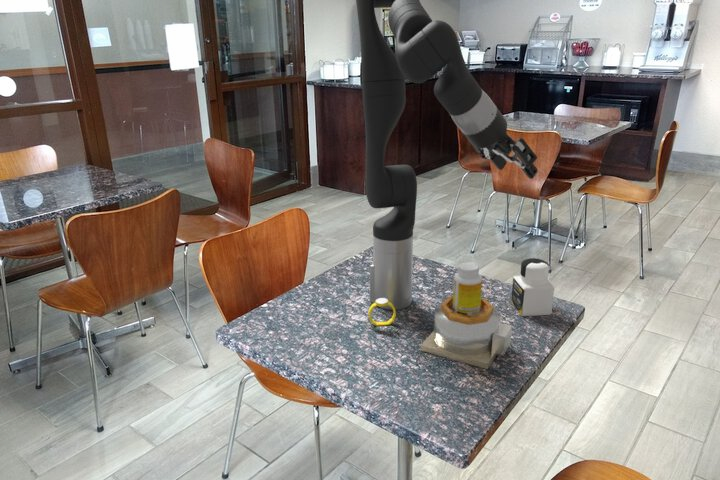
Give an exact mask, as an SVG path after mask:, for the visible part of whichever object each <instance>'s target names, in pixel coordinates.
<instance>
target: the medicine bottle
mask: <svg viewBox="0 0 720 480" xmlns="http://www.w3.org/2000/svg"><path fill="white" fill-rule="evenodd" d="M549 269H550V264H549V263H548V262H547V261H545V260H543V259H540V258H534V257H532V258H526V259H523V260H522V261H521V263H520V274H519V275H514V276H513V277H512V288H511V299H510V300H511V301H510V303H511V304H512V306H513V308H514V309H516V311H517V312H518V314H519V315H520V316H521V317H534V316H537V317H538V316H551V315H552V311H553V302H554V301H553V300H554V294H555V286H554V285H553V284H552V283H551V282H550V281H549V279H548V278H549Z"/></svg>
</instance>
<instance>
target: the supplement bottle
mask: <svg viewBox="0 0 720 480" xmlns="http://www.w3.org/2000/svg"><path fill="white" fill-rule="evenodd" d="M479 270H480V267H479V265H478V264H477V263H474V262H462V263H460V264H459V265H458V267H457V272H456V273H455V274H454V275H453V283H452V284H453V286H452V287H453V288H452V289H453V290H452V297H453V312H454V313H458V314H462V315H467V316H472V315H478V314H479V313H480V306H481V298H482V287H483V276H482V275H481V274H480V273H479V272H480V271H479Z"/></svg>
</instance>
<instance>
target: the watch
mask: <svg viewBox="0 0 720 480" xmlns="http://www.w3.org/2000/svg"><path fill="white" fill-rule="evenodd" d="M386 305H389V306H391V307H392V309H393V310H392V311H393V314H392V316H391V318H390V319H388V320H387V321H375V320H374V319H373V318H372V312H373V310H374V309H375V308H376V307H378V306H386ZM396 310H397V309H396ZM396 310H395V307H394V306H393V304H392V303H390V302H388V300H387V299H386V298H379V299H377V300H376V302H375V303H372V304H371V305H370V307H368V319H369V321H370V323H371V324H373V325H374V326H376V327H379V326H390V325H391V324H393V323H394V322H395V319H396V318H397V311H396Z"/></svg>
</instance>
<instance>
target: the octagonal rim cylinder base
mask: <svg viewBox="0 0 720 480" xmlns="http://www.w3.org/2000/svg"><path fill="white" fill-rule="evenodd" d="M500 321H501V314H500V311H499V309H497V307H495V306H493V305H492V304H491V303H490V302H489V301H488V300H487V299H486V298H484V297H481V306H480V313H479V314H478V315H472V316H467V315H462V314H458V313H454V312H453V296H448V297H447V298H446V299H445V300H444V301H441V302H439V303H438V304H437V305H436V307H435V309H434V325H433V331H432V332H430V334H429V335H428V336H427V337H426V339H425V340H424V341H423V342H422V343H421V344H420V351H421V352H423V353H424V352H425V353H429V354H432V355H436V356H438V357H443V358H447V359H450V360H454V361H458V362H461V363H465V364H467V365H471V366H474V367H478V368H481V369H485V370H488V369H489V368H490V366H491V364H492V363H493V361H494V360H495V358H496V356H497V355H501V356H504V355H505V354H506V352H507V350H508V349H509V347H510V345H511V343H512V333H513V325H510V324H507V323H502V322H500Z"/></svg>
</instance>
